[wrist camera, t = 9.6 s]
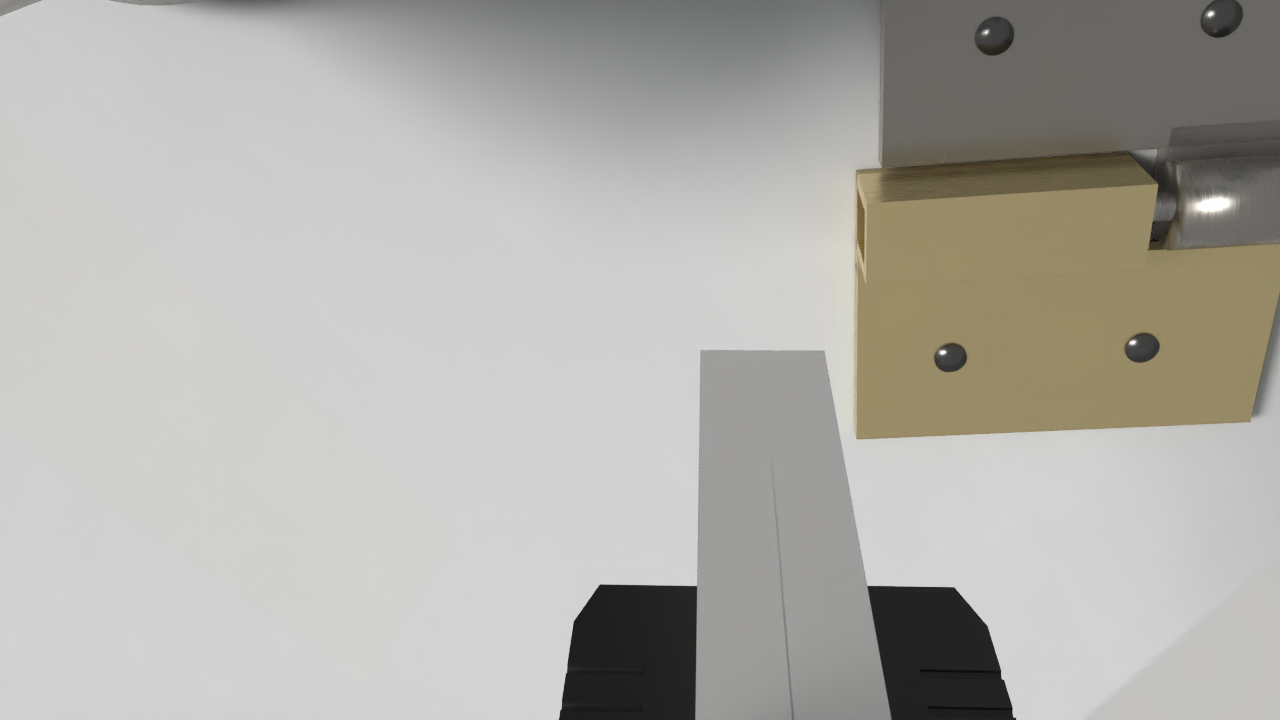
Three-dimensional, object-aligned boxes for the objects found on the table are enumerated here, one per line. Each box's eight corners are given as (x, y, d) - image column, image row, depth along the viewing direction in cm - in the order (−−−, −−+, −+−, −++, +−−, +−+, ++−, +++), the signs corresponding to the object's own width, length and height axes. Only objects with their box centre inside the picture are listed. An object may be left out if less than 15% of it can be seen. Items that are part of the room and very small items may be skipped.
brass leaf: (854, 429, 43) (863, 475, 40) (856, 170, 37) (866, 203, 35) (1242, 412, 42) (1278, 458, 39) (1303, 139, 36) (1350, 171, 33)
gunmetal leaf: (877, 245, 39) (889, 282, 36) (883, -83, 33) (897, -68, 31) (1307, 218, 37) (1352, 255, 35) (1389, -130, 32) (1451, -118, 29)
